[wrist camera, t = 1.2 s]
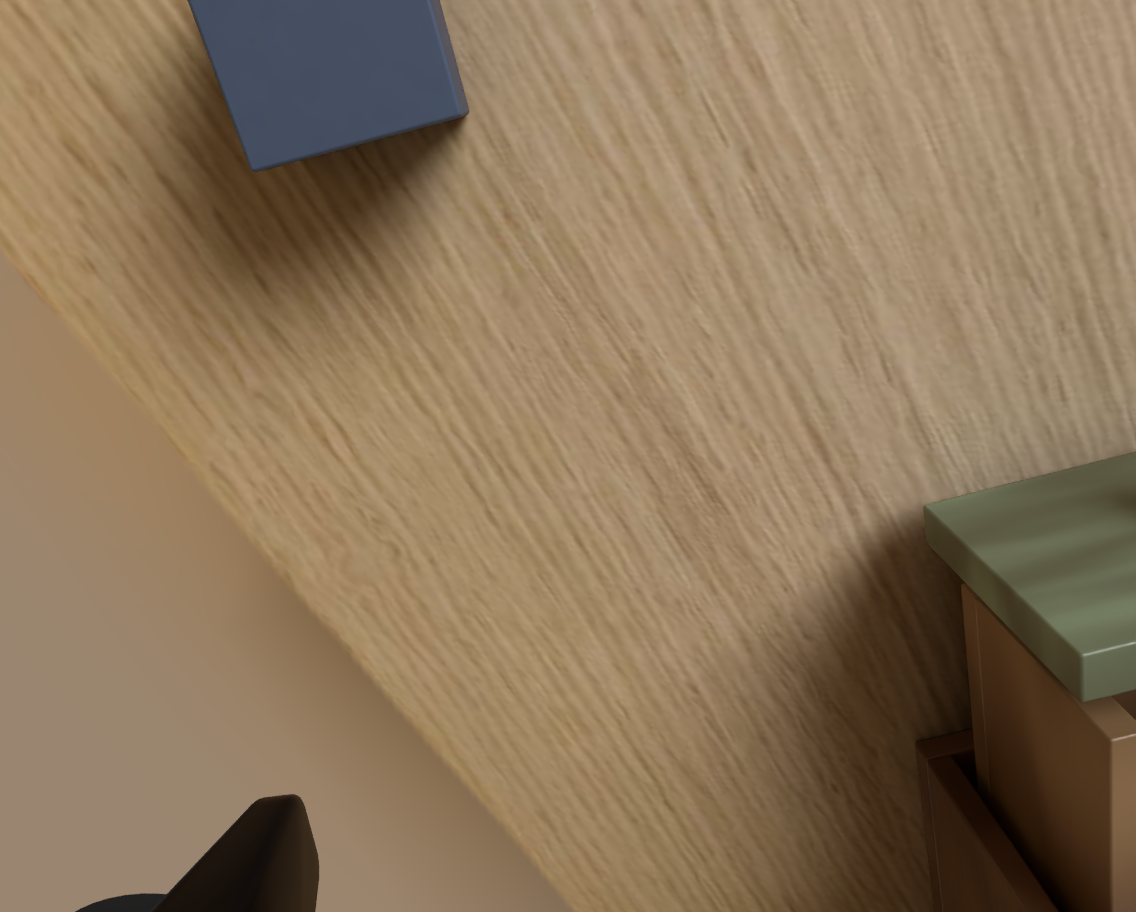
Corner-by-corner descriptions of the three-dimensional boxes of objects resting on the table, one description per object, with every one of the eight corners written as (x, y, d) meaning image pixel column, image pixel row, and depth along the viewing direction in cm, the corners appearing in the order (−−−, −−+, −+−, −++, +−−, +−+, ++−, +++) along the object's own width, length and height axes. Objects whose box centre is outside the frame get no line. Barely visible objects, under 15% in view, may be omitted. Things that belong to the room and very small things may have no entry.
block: (298, 160, 20) (250, 173, 16) (228, -38, 18) (158, -74, 14) (470, 114, 20) (463, 116, 16) (415, -90, 18) (393, -139, 14)
